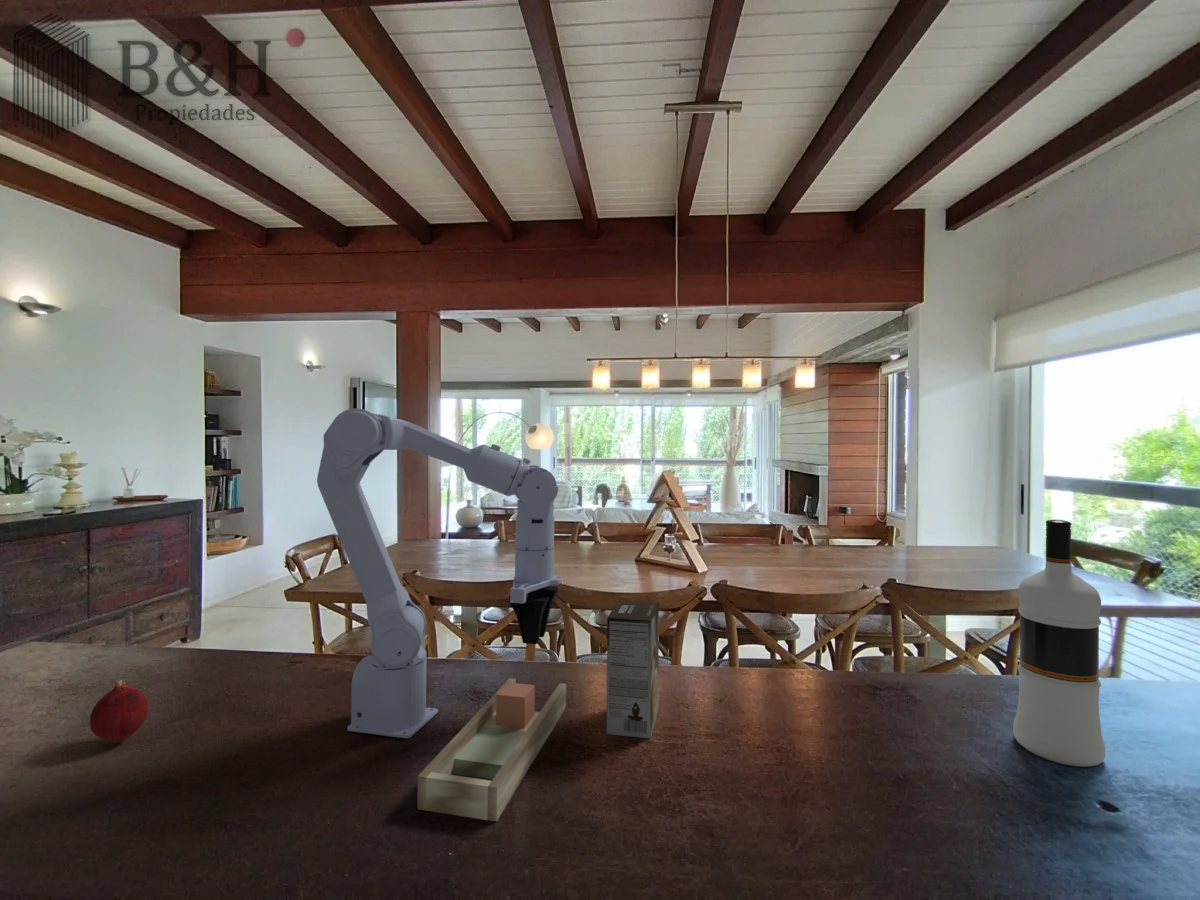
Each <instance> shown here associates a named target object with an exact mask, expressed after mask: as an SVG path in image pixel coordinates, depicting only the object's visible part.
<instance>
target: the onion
mask: <svg viewBox="0 0 1200 900" xmlns="http://www.w3.org/2000/svg"><path fill="white" fill-rule="evenodd" d="M149 711H150V705H149V702H148V699H147V697H146V695H145V694H144V693H143V692H142V691H141V690H139V689H138V688H135V687H131V686H130V685H129V686H128V684H126V681H125V680H123V679H119V680H117V681H116V682H115V684H114V687H113V689H111V690H110V691H109V692H107V693H106V694H104V695H103V696H102V697H101V698H100V699H99V700H98V701H97V702H96V704H95V705H94V706H93V708H92V711H91V713H90V716H89V726H90V731H91V732H92V733H93V734H94V735H95V736H96V737H98V738H99V739H100V740H103V741H104V742H105V741H106V742H109V743H113V744H116V745H117V744H121V743H123V742H124V741H126V740H127V739H128V738H130V737H131V736H132V735H133V734H135V733H136V732H137V731H138V730H139V729H140V728H141V727H142V726H143V724H144V723H145V721H146V719H147V718H148V715H149Z"/></svg>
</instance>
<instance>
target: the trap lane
mask: <svg viewBox="0 0 1200 900" xmlns="http://www.w3.org/2000/svg"><path fill="white" fill-rule="evenodd" d="M516 680H517V679H516V678H512V677H510V678H508V679H507V681H505V682H504V683H503V685H502V686H501V687H500V688H498V690H497V691H496V692H495V693H494V694H493V695H492V696H491V697H490V698H489V700H488V701H487V702H486V703H485V704H484V705H483V706H482V707H481V708H480V709H478V711H477V712H476V713H475V715H473V716H472V717H471V719H469V721H468V722H467V723H466V724H465V725H464V726H463V727H462V728H461V729H460V731H458V733H456V735H455V736H454V737H453V738H452V739H451V740H449V742H448V743H447V744H446V745H445V746H444V747H443V749H442V750H440V752H439V753H438V754H437V755H436V756H435V757H434V758H433V759H432V760H431V762H429V763H428V765H426V767H425V768H424V769H422V771H421V772H420V773H419V774H418V775H417V802H416V803H417V810H422V811H427V812H434V813H438V814H446V815H452V816H459V817H464V818H471V819H475V820H477V819H478V820H483V821H489V822H495V821H496V822H498V821H499V819H500V817H501V815H502V813H503V812H504V810H505V809H506V807H507V805H508V804H509V803H510V800H511V798H512V797H513V796H514V794H515V792H516V790H517V789H518V787H519V786H520V784H521V782H522V781H523V779H524V777H525V776H526V774H527V773H528V771H529V769H530V768H531V766H532V764H533V763H534V761H535V759H536V758H537V756H538V754H539V753H540V752H541V749H543V746H544V744H545V743H546V741H547V739H548V738H549V736H550V734H551V733H552V731H553V729H554V728H555V726H556V725H557V723H558V721H559V719H560V718H561V716H562V715H563V713H564V712H565V710H566V708H567V683H561V682H560V683H559V684H558V685H557V686H556V688H555V689H554V690H553V693H552V694H551V695H550V696H549V697H548V700H547V701H546V702H545V703H542V702H535V714H534V716H533V717H532V718H531V720H530V721H529V723H528V724H527V725H526V727H525V728H518V727H510V726H502V725H496V694H497V693H498V692H499V691H500V690H501V689H502V688H503V687H504V686H505V685H506V683H507V682H508V683H517V682H516ZM529 767H530V768H529ZM521 780H522V781H521ZM496 822H495V823H496Z"/></svg>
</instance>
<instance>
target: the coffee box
mask: <svg viewBox="0 0 1200 900" xmlns="http://www.w3.org/2000/svg"><path fill="white" fill-rule="evenodd" d="M659 611H660V602H659V601H658V602H655V601H639V600H638V601H636V600H618V601H617V602H616V603H615V605H614V607H613V609H612V610H611V612H610V613H609V615H608V616H607V618H606V622H607V623H606V626H607V627H606V734H607V735H613V736H620V737H621V736H623V737H630V738H631V737H633V738H642V739H649V740H650V739H651V738H652V735H653V733H654V732H653V731H654V728H655V724H656V721H657V715H658V711H659V640H660V639H659V637H660V635H659V633H660V632H659V631H660V629H659V624H660V622H659V619H660V618H659V617H660V615H659V614H660V613H659Z"/></svg>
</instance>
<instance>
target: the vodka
mask: <svg viewBox="0 0 1200 900" xmlns="http://www.w3.org/2000/svg"><path fill="white" fill-rule="evenodd" d="M1017 596H1018V605H1019V606H1018V608H1017V610H1018V613H1019V664H1018V665H1017V671H1018V680H1019V682H1018V685H1019V686H1018V702H1017V708H1016V714H1015V718H1014V719H1013V722H1012V723H1013V725H1012V726H1013V727H1012V733H1013V735H1014V738H1015V740H1016V742H1017V743H1018V744H1019V745H1021V747H1022V748H1024V749H1026V750H1027V751H1029V752H1030V753H1031V754H1033V755H1035V756H1037V757H1039V758H1042V759H1043V760H1044V759H1045V760H1047V761H1050V762H1053V763H1057V764H1059V765H1064V766H1068V767H1077V768H1090V767H1096V766H1099V765H1101V764H1102V763H1103V761H1104V760H1105V759H1106V743H1105V741H1104V738H1103V735H1102V734H1103V733H1102V727H1101V719H1100V718H1101V717H1100V706H1099V705H1100V702H1099V701H1100V688H1101V686H1102V682H1101V681H1100V679H1099V678H1100V677H1099V672H1100V671H1099V669H1100V668H1099V666H1100V665H1099V663H1100V661H1099V657H1100V656H1099V655H1100V654H1099V653H1100V651H1099V649H1100V648H1099V646H1100V644H1099V639H1100V627H1099V626H1100V625H1101V623H1102V619H1101V618H1100V617H1101V609H1102V598H1101V596H1100V593H1099V591H1098V590H1097V588H1095V587H1094V586H1093V585H1092V584H1090V583H1088V582H1087V581H1086V580H1084V579H1083V578H1081V577H1080V576H1078V575H1077V574H1075V573H1074V572H1073V570H1072V522H1070V521H1067V520H1064V519H1049V520H1046V521H1045V568H1044V569H1043V570H1041V571H1038V572H1036V573H1034V574H1032V575H1030V576H1028V577H1026V578H1024V579H1023V580H1022V581H1021V582H1020V583H1019V587H1018V589H1017Z"/></svg>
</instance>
